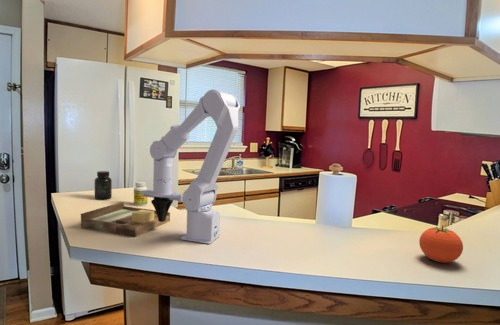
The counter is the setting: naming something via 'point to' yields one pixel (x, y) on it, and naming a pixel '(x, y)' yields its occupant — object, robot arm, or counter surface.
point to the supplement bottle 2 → (137, 194)
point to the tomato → (441, 244)
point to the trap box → (118, 220)
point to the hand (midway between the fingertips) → (162, 220)
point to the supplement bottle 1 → (103, 186)
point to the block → (142, 216)
